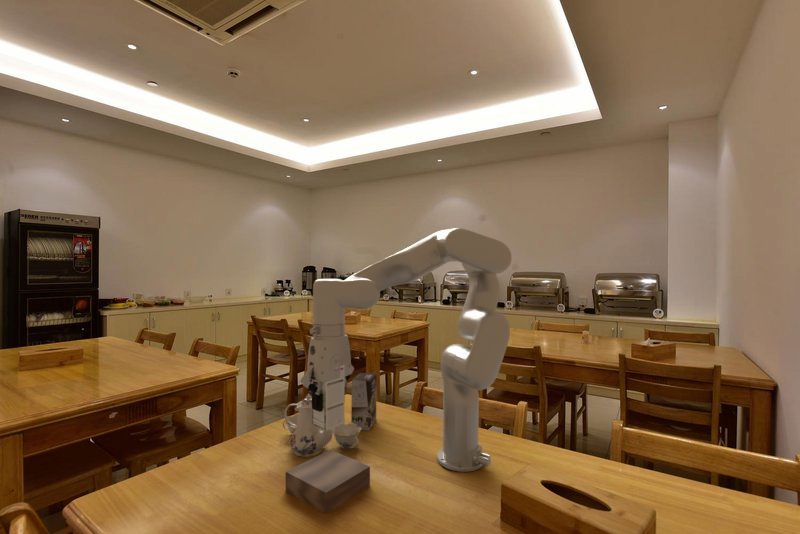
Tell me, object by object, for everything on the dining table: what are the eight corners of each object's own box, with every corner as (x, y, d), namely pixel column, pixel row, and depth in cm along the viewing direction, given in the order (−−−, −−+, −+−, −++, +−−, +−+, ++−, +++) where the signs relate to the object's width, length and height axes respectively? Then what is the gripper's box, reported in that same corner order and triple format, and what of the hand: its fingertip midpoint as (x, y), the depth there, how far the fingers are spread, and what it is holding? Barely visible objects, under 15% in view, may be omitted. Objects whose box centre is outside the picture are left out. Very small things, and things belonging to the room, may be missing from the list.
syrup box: (345, 424, 95) (346, 363, 95) (325, 431, 91) (325, 368, 90) (330, 417, 99) (331, 359, 99) (310, 424, 94) (311, 363, 94)
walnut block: (369, 487, 96) (369, 466, 96) (326, 516, 85) (326, 492, 85) (330, 468, 105) (330, 449, 105) (285, 492, 94) (285, 471, 93)
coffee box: (369, 431, 127) (370, 380, 127) (350, 429, 128) (350, 379, 128) (377, 420, 136) (377, 373, 136) (359, 418, 137) (359, 371, 137)
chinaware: (369, 447, 120) (371, 390, 121) (343, 468, 104) (346, 403, 105) (290, 433, 129) (293, 381, 130) (255, 450, 113) (259, 391, 115)
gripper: (309, 337, 85) (308, 421, 86) (365, 328, 99) (365, 400, 99) (288, 333, 90) (288, 412, 90) (345, 324, 103) (345, 393, 104)
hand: (328, 405), depth 95 cm, fingers closed on syrup box, 6 cm apart
